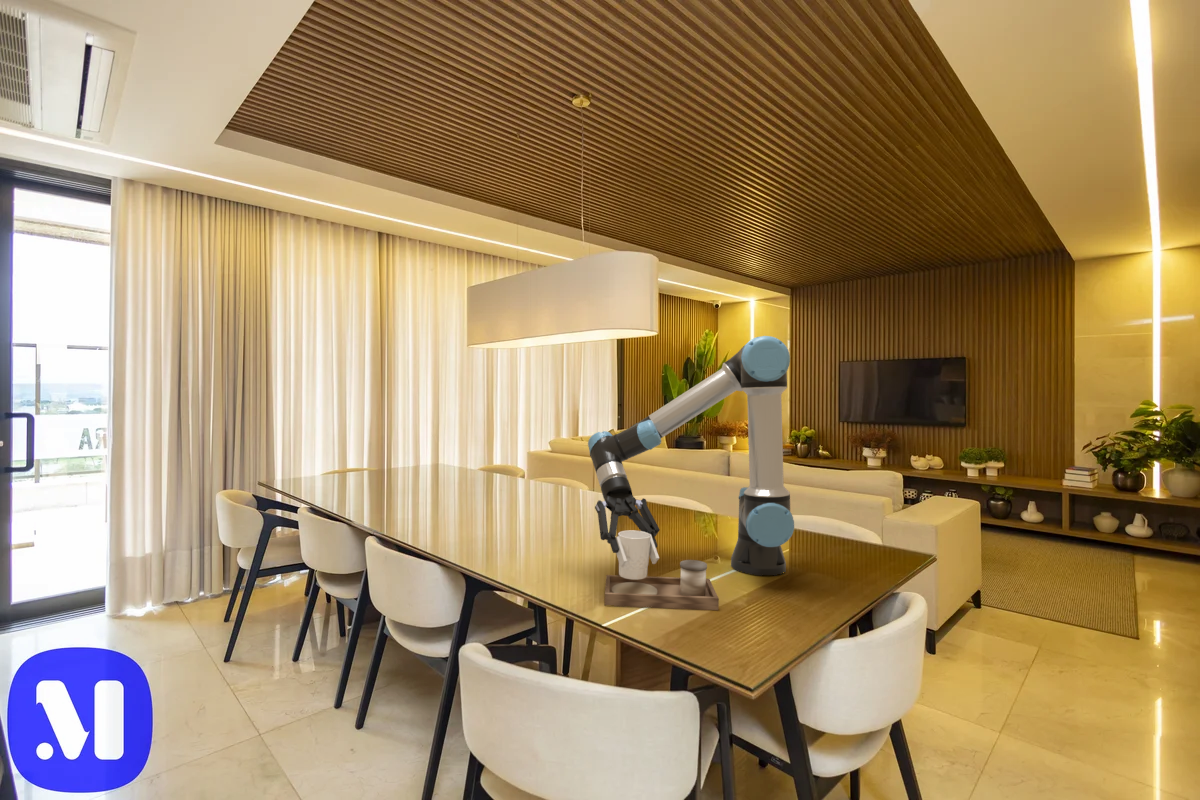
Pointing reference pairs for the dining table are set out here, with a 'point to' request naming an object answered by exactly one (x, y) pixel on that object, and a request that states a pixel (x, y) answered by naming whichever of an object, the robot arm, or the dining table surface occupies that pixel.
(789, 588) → the dining table surface
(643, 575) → the white cup
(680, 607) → the tray
